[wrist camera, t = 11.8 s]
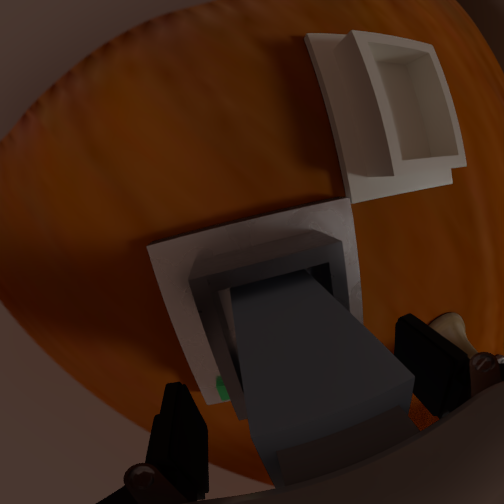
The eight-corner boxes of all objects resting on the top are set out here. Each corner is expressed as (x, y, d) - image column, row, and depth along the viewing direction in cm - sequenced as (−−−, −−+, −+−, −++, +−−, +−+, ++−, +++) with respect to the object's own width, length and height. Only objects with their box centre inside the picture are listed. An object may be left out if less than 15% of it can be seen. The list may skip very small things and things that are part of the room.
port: (339, 196, 17) (381, 200, 12) (355, 350, 20) (386, 387, 15) (152, 241, 16) (127, 261, 11) (207, 392, 19) (207, 440, 14)
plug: (295, 261, 16) (450, 412, 4) (311, 345, 17) (404, 503, 5) (228, 280, 16) (261, 492, 3) (253, 362, 17) (297, 543, 5)
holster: (410, 48, 15) (437, 33, 11) (446, 183, 18) (479, 185, 14) (303, 38, 14) (321, 10, 10) (347, 202, 17) (377, 206, 13)
